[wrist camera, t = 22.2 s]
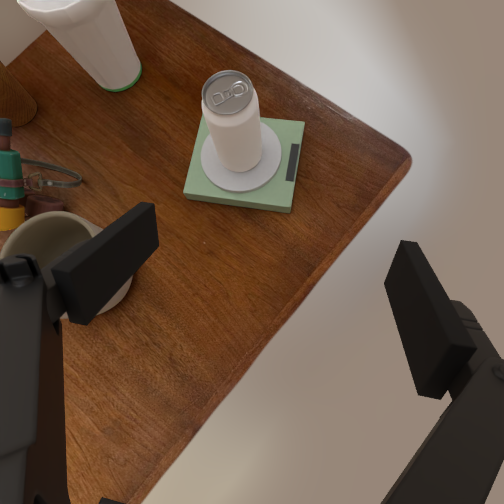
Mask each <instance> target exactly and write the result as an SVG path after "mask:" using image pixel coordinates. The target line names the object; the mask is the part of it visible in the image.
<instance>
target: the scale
mask: <svg viewBox="0 0 504 504" xmlns="http://www.w3.org/2000/svg"><path fill="white" fill-rule="evenodd" d="M304 123H305V122H300V121H290V120H281V119H271V118H261V117H260V126H261V138H262V156H261V159H260V161H259V162H258V164H257V165H256V166H255V167H253V168H252V169H250V170H248V171H244V172H234V171H231V170H228V169H227V168H225V167H224V166H223V165H222V163H221V162H220V159H219V157H218V154H217V151H216V149H215V146H214V143H213V140H212V137H211V135H210V132H209V129H208V126H207V123H206V120H205V117H204V114H203V115H202V119H201V123H200V127H199V131H198V135H197V139H196V143H195V147H194V151H193V155H192V159H191V163H190V167H189V171H188V175H187V179H186V183H185V187H184V191H183V193H184V195H185V196H186V197H187V199H191V200H198V201H205V202H212V203H219V204H226V205H233V206H240V207H247V208H254V209H262V210H269V211H276V212H283V213H290V211H291V205H292V198H293V192H294V186H295V180H296V174H297V167H298V161H299V155H300V149H301V143H302V137H303V130H304Z"/></svg>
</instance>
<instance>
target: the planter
mask: <svg viewBox="0 0 504 504" xmlns="http://www.w3.org/2000/svg"><path fill="white" fill-rule="evenodd" d="M102 230H103V229H102V228H100V227H98V226H96V225H94V224H92V223H91V222H89V221H87V220H85V219H84V218H82V217H80V216H78V215H76V214H73V213H70V212H65V211H51V212H46V213H42V214H39V215H36V216H34V217H32V218H30V219H29V220H27V221H25V222H24V223H23V224H21V225H20V226H19V227H18V228H17V229H16V230H15V231H14V232H13V233H12V234H11V235H10V237H9V238H8V239H7V241H6V242H5V244H4V246H3V248H2V250H1V252H0V259H2V258H5V257H7V256H11V255H14V254H22V253H26V254H32V255H34V256H35V258H36V260H37V263H38V265H39V268H40V269H42V268H43V267H45V266H46V265H47V264H49V263H50V262H52V261H53V260H54V259H56V258H57V257H59V256H61V254H63V253H64V252H66V251H68V249H70V248H71V247H73V246H74V245H75V244H77V243H80V242H82V241H85V240H87V239H89V240H90V239H91V238H93V237H94V236H96V235H97V234H98V233H100V232H101V231H102ZM132 277H133V275H132V276H131V278H130V279H129V280H128V281H127V282H126V283H125V284H124V285H123V286H122V287H121V289H120V290H119V291H118V292H117V293H116V294H115V295H114V296H113V297H112V298H111V300H110V301H109V302H108V303H107V304H106V305H105V306H104V307H103V308H102V309H101V311H100V312H99V313H98V314H97V315H99V314H101V313H104V312H106V311H108V310H109V309H111V308H112V307H114V306H115V305H116V304H118V303H119V302H120V301H121V300H122V299H123V297H124V296H125V295H126V293H127V291H128V289H129V287H130V285H131V282H132ZM60 318H68V315H67V312H65V313H64V314H63V315H62V316H61V317H60Z"/></svg>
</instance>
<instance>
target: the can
mask: <svg viewBox="0 0 504 504" xmlns="http://www.w3.org/2000/svg"><path fill="white" fill-rule="evenodd" d="M202 110H203V114H204V117H205V120H206V123H207V126H208V129H209V132H210V135H211V137H212V140H213V143H214V146H215V149H216V151H217V154H218V157H219V159H220V162H221V163H222V165H223V166H224V167H225V168H227V169H228V170H231V171H234V172H244V171H248V170H250V169H252V168H253V167H255V166H256V165H257V164H258V162H259V161H260V159H261V156H262V138H261V126H260V115H259V104H258V97H257V93H256V91H255V89H254V88H253V85H252V82H251V81H250V79H249V78H248V77H247V76H246V75H245V74H243V73H241V72H238V71H234V70H226V71H221V72H218V73H216V74H214V75H213V76H211V77H210V78H209V79H208V80H207V81H206V83H205V84H204V86H203V89H202Z"/></svg>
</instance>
